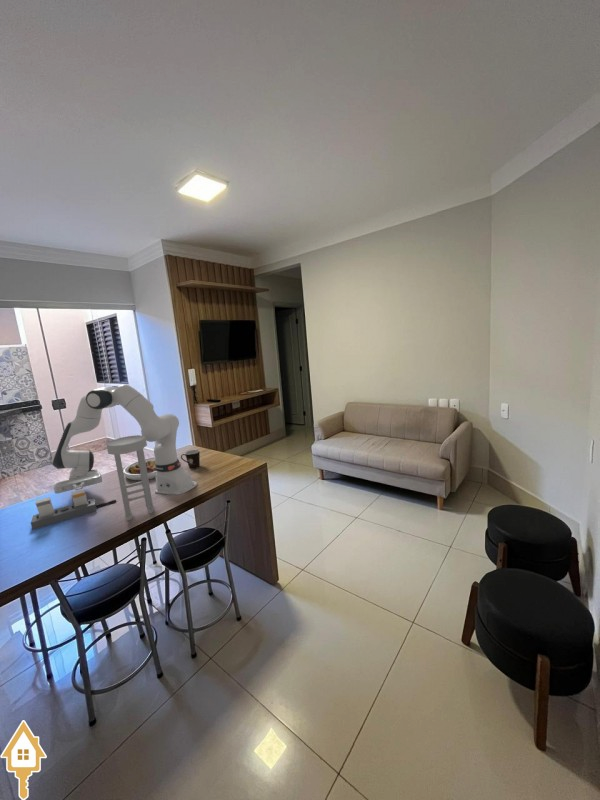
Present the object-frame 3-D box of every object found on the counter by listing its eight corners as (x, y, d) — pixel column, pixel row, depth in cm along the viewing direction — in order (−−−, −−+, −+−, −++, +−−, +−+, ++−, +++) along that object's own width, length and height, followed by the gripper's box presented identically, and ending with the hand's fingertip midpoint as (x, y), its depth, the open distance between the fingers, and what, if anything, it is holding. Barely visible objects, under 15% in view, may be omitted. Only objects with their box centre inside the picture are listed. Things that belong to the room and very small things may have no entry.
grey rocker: (53, 509, 146) (49, 497, 142) (53, 513, 144) (49, 500, 141) (40, 513, 143) (35, 500, 139) (40, 516, 141) (35, 503, 138)
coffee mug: (204, 465, 200) (202, 450, 198) (193, 470, 193) (191, 455, 191) (192, 463, 206) (190, 448, 204) (181, 467, 199) (179, 452, 197)
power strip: (115, 498, 162) (113, 490, 162) (116, 504, 156) (115, 496, 155) (34, 522, 145) (32, 512, 144) (32, 530, 138) (30, 520, 137)
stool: (159, 512, 145) (147, 439, 139) (121, 524, 137) (106, 448, 131) (154, 499, 158) (143, 433, 152) (119, 510, 150) (106, 440, 144)
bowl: (129, 468, 206) (127, 457, 204) (178, 460, 215) (176, 449, 214) (120, 486, 178) (117, 473, 176) (176, 476, 187) (174, 463, 186)
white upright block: (87, 500, 153) (84, 489, 148) (87, 503, 151) (84, 492, 147) (74, 504, 150) (71, 492, 146) (75, 507, 149) (71, 495, 144)
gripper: (53, 479, 161) (51, 488, 149) (100, 468, 172) (101, 476, 160) (56, 490, 162) (53, 500, 150) (102, 479, 173) (103, 487, 162)
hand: (78, 488), depth 155 cm, fingers closed
